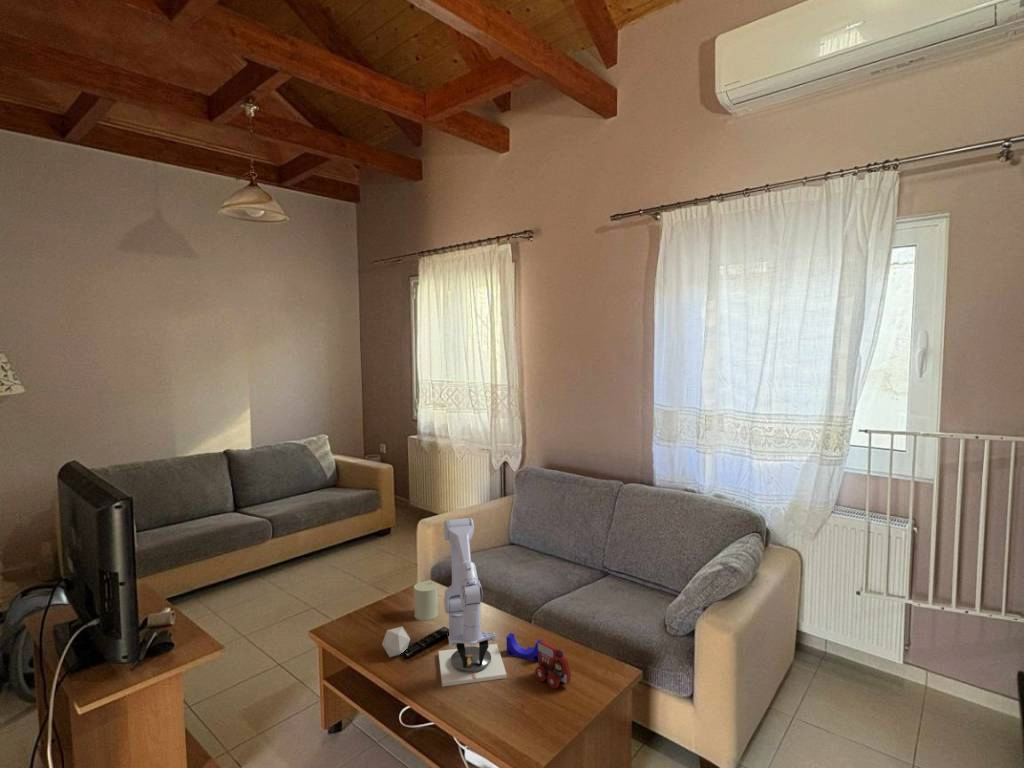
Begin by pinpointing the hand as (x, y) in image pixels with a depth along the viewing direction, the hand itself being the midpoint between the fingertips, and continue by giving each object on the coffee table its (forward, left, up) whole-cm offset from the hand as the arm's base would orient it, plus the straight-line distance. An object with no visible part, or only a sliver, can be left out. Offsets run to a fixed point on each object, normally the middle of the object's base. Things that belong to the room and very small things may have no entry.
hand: (472, 664), depth 167 cm
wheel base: (-5, 0, -3) cm, 6 cm away
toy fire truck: (+8, +24, -3) cm, 26 cm away
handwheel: (-5, 0, -1) cm, 5 cm away
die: (-18, -24, -3) cm, 30 cm away
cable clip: (-7, +19, -4) cm, 21 cm away
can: (-43, -13, -3) cm, 45 cm away
